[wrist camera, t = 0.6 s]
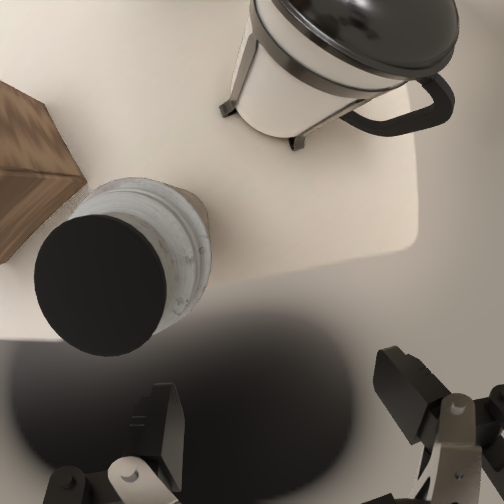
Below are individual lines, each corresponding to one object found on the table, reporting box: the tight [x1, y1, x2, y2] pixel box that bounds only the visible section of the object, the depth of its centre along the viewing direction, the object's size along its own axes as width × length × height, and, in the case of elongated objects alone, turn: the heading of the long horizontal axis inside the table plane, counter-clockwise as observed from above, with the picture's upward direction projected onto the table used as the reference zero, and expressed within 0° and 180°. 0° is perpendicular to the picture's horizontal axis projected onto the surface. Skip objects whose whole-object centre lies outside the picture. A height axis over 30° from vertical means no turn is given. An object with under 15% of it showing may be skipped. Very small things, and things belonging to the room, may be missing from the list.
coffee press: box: [219, 0, 459, 151], centre depth 21 cm, size 17×16×30 cm
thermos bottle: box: [34, 177, 212, 357], centre depth 22 cm, size 8×8×28 cm
